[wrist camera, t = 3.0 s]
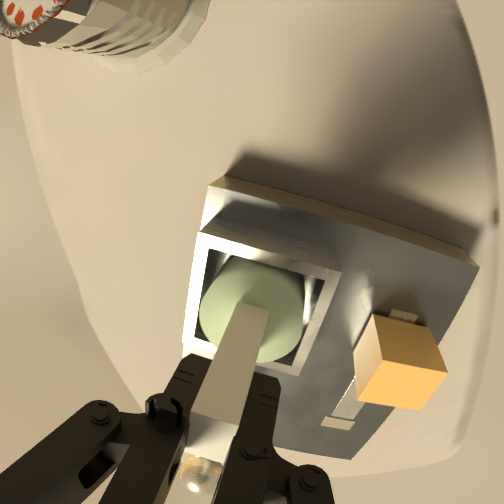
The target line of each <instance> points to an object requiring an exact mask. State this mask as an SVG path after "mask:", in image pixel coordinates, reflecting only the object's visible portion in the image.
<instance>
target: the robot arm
mask: <svg viewBox="0 0 504 504" xmlns="http://www.w3.org/2000/svg"><path fill="white" fill-rule="evenodd" d="M269 311H270V310H266V309H263V308H259V307H256V306H252V305H249V304H245V303H242V302H239V301H238V302H237V304H236V307H235V309H234V311H233V314H232V316H231V318H230V321H229V323H228V325H227V328H226V330H225V332H224V334H223V337H222V339H221V341H220V344H219V346H218V348H217V351H216V353H215V355H214V358H213V360H212V359H208V358H205V357H202V356H199V355H196V354H193V353H190V354H189V355H187V356H186V357H184V358H183V359H182V360H181V361H180V363H179V365H178V367H177V369H176V371H175V372H174V374H173V376H172V378H171V380H170V382H169V383H168V385H167V387H166V389H165V391H164V393H158V394H155V395H153V396H150V397H149V398H148V399H147V400H146V401H145V412H146V413H141V414H133V413H125V412H119V411H118V409H117V408H116V407H115V406H114V405H113V404H111V403H110V402H107V401H103V400H95V401H91V402H89V403H88V404H86V405H85V406H83V407H82V408H81V409H80V410H78V411H77V412H76V413H75V414H74V415H73V416H71V417H70V418H69V419H67V420H66V421H65V422H64V423H63V424H61V425H60V426H59V427H58V428H56V429H55V430H54V431H53V432H52V433H50V434H49V435H48V436H47V437H45V438H44V439H43V440H42V441H40V442H39V443H38V444H37V445H36V446H34V447H33V448H32V449H31V450H29V451H28V452H27V453H26V454H24V455H23V456H22V457H21V458H19V459H18V460H17V461H16V462H15V463H13V464H12V465H11V466H9V467H8V468H7V469H6V470H5V471H3V472H2V473H1V474H0V504H81V503H82V502H83V501H84V500H85V499H86V498H87V497H88V496H89V495H90V494H91V493H92V492H93V491H94V490H95V489H96V488H97V487H99V485H100V484H101V483H102V482H103V481H105V479H107V478H108V476H109V475H110V474H111V473H112V472H113V471H114V470H115V469H116V468H117V467H118V468H117V470H116V472H115V474H114V475H113V478H112V479H111V481H110V483H109V485H108V487H107V488H106V491H105V492H104V494H103V496H102V498H101V500H100V502H99V503H98V504H164V502H165V500H166V497H167V495H168V492H169V490H170V487H171V485H172V483H173V480H174V478H175V475H176V473H177V470H178V468H179V466H180V461H181V457H182V454H183V452H184V449H185V452H188V453H190V454H193V455H197V456H200V457H203V458H206V459H209V460H213V461H216V462H219V463H223V464H224V465H223V468H222V471H221V474H220V476H219V479H218V482H217V486H216V489H215V492H214V495H213V499H212V502H211V504H335V503H334V498H333V493H332V489H331V484H330V480H329V477H328V475H327V473H326V472H325V471H324V470H323V469H321V468H319V467H317V466H315V465H309V464H306V465H301V466H299V467H298V466H296V465H294V464H292V463H290V462H288V461H286V460H284V459H283V458H281V457H280V456H279V455H278V454H277V453H276V451H275V449H274V447H273V434H274V428H275V423H276V417H277V411H278V405H279V399H280V394H281V386H280V383H279V380H278V378H276V377H273V376H269V375H265V374H261V373H258V372H254V369H255V365H256V361H257V358H258V354H259V350H260V346H261V342H262V338H263V335H264V331H265V327H266V323H267V319H268V315H269Z"/></svg>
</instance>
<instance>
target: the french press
mask: <svg viewBox="0 0 504 504" xmlns="http://www.w3.org/2000/svg"><path fill="white" fill-rule="evenodd" d="M209 1H210V0H0V36H6V37H8V38H10V39H15V38H16V39H17V40H18V41H20V42H22V43H23V44H26V45H32V46H38V47H45V48H51V49H52V48H56V49H61V48H58V47H63V48H64V49H62V50H67V51H71V50H72V51H76V50H78V51H76V52H81V53H89V54H90V56H91V57H92V59H93V60H94V62H95V63H96V64H97V66H99V67H102V68H104V69H106V70H108V71H110V72H112V73H114V74H142V73H144V72H146V71H149V70H151V69H154V68H156V67H159V66H161V65H164V64H166V63H167V62H168V61H170V60H171V59H172V58H173V57H174V56H175V55H177V54H178V53H179V52H180V51H182V50H183V49H184V48H185V47H186V46H188V45H189V44H190V42H191V41H192V39H193V38H194V36H195V34H196V33H197V31H198V30H199V28H200V27H201V25H202V24H203V22H204V21H205V19H206V15H207V10H208V5H209ZM62 10H66V11H69V12H73V13H76V14H80V15H83V16H85V19H84V20H83V21H82V22H81V23H80V24H78V23H74V22H70V21H66V20H61V19H57V18H54V17H55V16H57V15H58V14H59V13H60V12H61V11H62ZM39 42H45V43H46V45H42V46H41V45H40V43H39ZM69 46H72V47H73V48H70V47H69ZM83 49H86V50H85V51H84V50H83Z"/></svg>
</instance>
